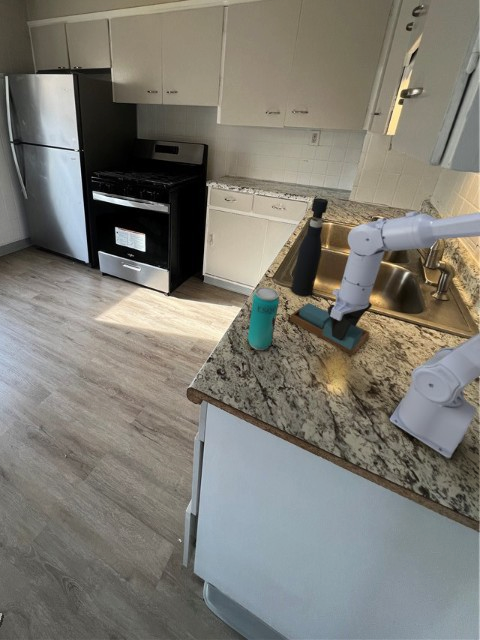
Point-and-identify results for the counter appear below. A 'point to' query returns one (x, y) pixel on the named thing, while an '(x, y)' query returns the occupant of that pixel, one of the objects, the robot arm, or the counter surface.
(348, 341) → the loose pad
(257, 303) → the beverage can
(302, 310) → the mounted pad
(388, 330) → the counter surface
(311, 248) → the black water bottle
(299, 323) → the back plate
